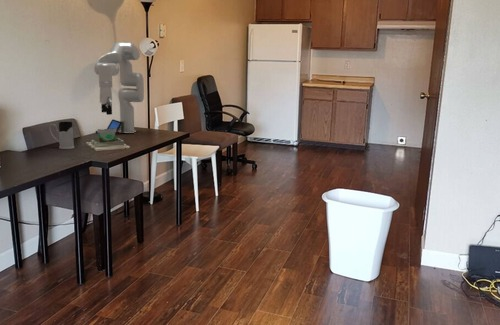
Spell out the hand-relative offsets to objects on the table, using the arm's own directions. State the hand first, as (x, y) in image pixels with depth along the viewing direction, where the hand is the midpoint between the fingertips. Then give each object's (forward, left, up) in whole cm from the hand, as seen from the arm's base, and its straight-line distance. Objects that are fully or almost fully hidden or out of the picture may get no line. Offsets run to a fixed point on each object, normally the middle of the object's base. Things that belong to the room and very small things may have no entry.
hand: (106, 113), depth 278 cm
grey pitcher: (-7, -25, -20) cm, 33 cm away
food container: (+2, 0, -19) cm, 19 cm away
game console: (-41, +13, -21) cm, 48 cm away
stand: (0, 0, -20) cm, 20 cm away
